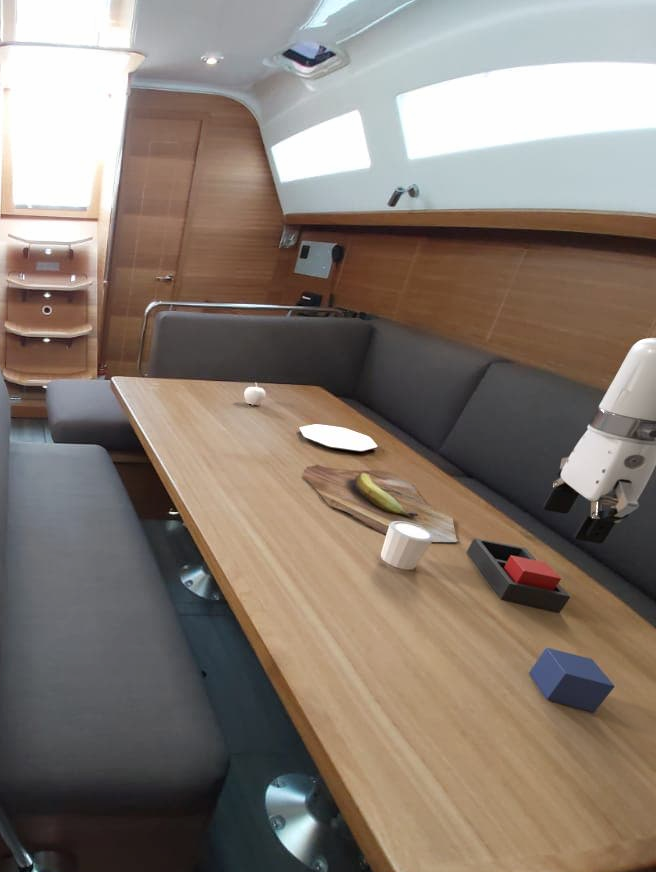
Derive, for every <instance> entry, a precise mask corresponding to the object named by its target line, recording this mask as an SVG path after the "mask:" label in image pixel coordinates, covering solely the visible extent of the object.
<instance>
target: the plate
mask: <svg viewBox="0 0 656 872" xmlns="http://www.w3.org/2000/svg"><path fill="white" fill-rule="evenodd" d="M298 429H299V431H300V433H301V435H302V437H303V438H304V439H306V440H309V441H310V442H314V443H316V444H319V445H321V446H323V447H327V448H330V449H337V450H341V451H349V452H357V453H363V452H367V451H371V450H375V449H377V448H378V447H379V446H378V444H377V443H376V442H375V441H374V440H373V439H372V438H371V437H370V436H369V435H366V434H363V433H360V432H358V431H354V430H352V429H349V428H346V427H342V426H334V425H327V424H320V423H313V424H309V425H304V426H300V427H299V428H298Z"/></svg>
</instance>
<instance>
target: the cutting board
mask: <svg viewBox="0 0 656 872" xmlns="http://www.w3.org/2000/svg"><path fill="white" fill-rule="evenodd" d="M302 478H304V479H305V480H306V481H307V482H308V483H310V484H311V485H312V487H313V488H314V489H315V490H316V492H317V493H318V494H319V495H320V496H321V498H322V499H323V500H324V501H325V502H326V503H327V505H328V506H330V507H332V508H333V509H334V508H335V509H338V510H340V511H343V512H346V513H348V514H350V515H351V516H352V517H353V518H354V519H356V520H358V521H361V522H362V523H363V524H365V525H366V526H368V527H370V528H373V529H374V530H376V531H378V532H379V533H381V534H383V535H385V536H386V535H387V531H388V528H389V525H390V523H391V522H394V521H402V522H408V523H412V524H415V525H418V526H420V527H423V528H424V529H426V530H428V531H429V532H430V533H432V534H433V536H434V539H433V541H432V542H431V543H458V539H457V535H456V530H455V525H454V518H453V517H452V516H451V515H449V514H447V513H444V512H442V511H440V510H438V509H436V508H433V507H432V506H430V505H429V504H428V503H426V501H424V499H423V498H422V496H421V495H420V493H418V491H417V489H416V488H415V486H414V484H412V483H411V482H409V481H407V480H406V479H405V478H403V477H401V476H399V475H397V474H395V473H393V472H390V471H386V470H379V469H371V470H370V469H369V470H355V469H354V470H352V469H339V468H332V467H327V466H322V465H319V464H315V465H313V466H306V468H305V471H304V473H303V476H302Z"/></svg>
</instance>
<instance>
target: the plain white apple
mask: <svg viewBox="0 0 656 872" xmlns="http://www.w3.org/2000/svg"><path fill="white" fill-rule="evenodd" d="M243 394H244V395H243V396H244V400H245V403H246V404H248V405H249V404H251V405H250V406H254V405H257V406H259V405H260V404H261V403H262V402H263V401H264V400H265V398H266V396H267V393H266V390H265V389H264V388H262V387H258V383H257V382H255V386H249V387H247V388H246V389H245V390H244V393H243Z"/></svg>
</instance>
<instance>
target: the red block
mask: <svg viewBox="0 0 656 872" xmlns="http://www.w3.org/2000/svg"><path fill="white" fill-rule="evenodd" d="M503 570H504V571H505V572H506V574H507V575H508V576H509V577H510V579H511V580H512V581H513V582H515V583H520V584H524V585H529V586H533V587H538V588H543V589H547V590H552V591H554V589H555V587H556V586H557V584H560V582H561V580H562V577H560V576H559V575H558V574H557V573H556V571H554V569H553V568H552V567H551V566H550V565H549V564H548V563H547V562H546V561H541V560H537V559H536V560H532V559H527V558H522V557H517V556H512V555H511V556H510V557H509V559H508V561H507V563H506V564H505V566H504V568H503Z"/></svg>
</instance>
